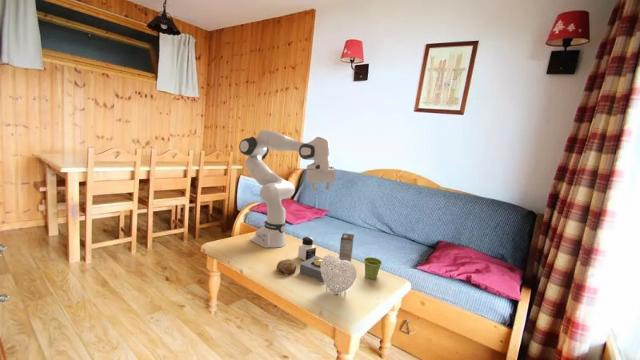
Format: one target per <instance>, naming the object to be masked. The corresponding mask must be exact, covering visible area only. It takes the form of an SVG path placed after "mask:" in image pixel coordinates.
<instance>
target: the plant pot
mask: <svg viewBox="0 0 640 360" xmlns="http://www.w3.org/2000/svg"><path fill="white" fill-rule="evenodd" d="M363 262H364V276H365V278H367V279H369V280H375V279H377V278H378V274H379V270H380V268H381V266H382V264H383V261H382V260H381V259H379V258H376V257H371V256H367V257H364V258H363Z"/></svg>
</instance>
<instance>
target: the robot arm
mask: <svg viewBox="0 0 640 360" xmlns="http://www.w3.org/2000/svg"><path fill="white" fill-rule="evenodd" d="M238 149H239V151H240V153H241V154H243V155H244V156H247V158H246V160H245V162H244V165H245V168H246V169H247V171H248V173H249V174H250V176H252V177H253V179H254V180H255V181H256V182H257V183H258V184H259V185H260V186H262V187H261V188H260V190H259V195H260V197H261V199H262V200H263V201H264V202H265V205H266V209H267V212H266V213H267V214H266V220H264V221H263V224H264V225H263V226H262V227H260V228H259V229H257V230H256V231H255V235H254V236H253V237H251V239H250V241H251V242H253V243H255V244H257V245H259V246H261V247H263V248H265V249H266V248H281V247H284V246H286V245H287V242H286V235H285V234H286V233H285V230H286V213H287V211H286V208H285V207H284V206H283V205H282V200H286V199H288V198H290V197H292V196H293V195H294V194H295V192H296V188H295V185H294V183H292V182H291V181H288V180H285V179H284V178H283V177H281V176H279V175H277V174H276V173H275V172H274V171H273V170H272V169H271V168H270V167H268V165H267V164H266V163H265V162H264V161H263V160H265V159H266V157H267V155H268V154H269V152H270V150H272V151H273V150H274V151H279V152H281V151H282V152H285V151H287V152H288V151H291V152H298V155H299V157H300V158H301V159H302V160H305V161H313V162H312V163H310V164H308V165H306V169H307V170H306V173H305V181H306V182H307V184H311V186H312V191H314V192H315V191H316V192H317V191H318V187H316V186H317V185H316V184H317V183H318V184H319V183H326V186H325V188H324V189H325V190H326V191H329V190H330V187H331V185H332V182H333V183H334V182H336V180H337V179H336V178H337V177H336V171H335V170H336V169H335V167H334V166H333V165H330V141H329V139H328V138H326V137H320V136H316V137H314V139H312V140H310V141H308V142H303V141H299V140H296V139H293V138H292V137H289V136H287V135H285V134H283V133H280V132H279V131H278V132H277V131H274V130H269V129H262V130H260V131H259V132H258V134H257V136H256V137H254V136H250V137H246V138H244V139H242V140H241V141H240V142H239V146H238Z"/></svg>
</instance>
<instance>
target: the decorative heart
mask: <svg viewBox="0 0 640 360" xmlns="http://www.w3.org/2000/svg"><path fill="white" fill-rule="evenodd" d="M322 258H323V259H322V261H321V265H320V270H321V275H322V278H323V280H324V282H323V283H324V284H325V291H328V290H329V292H331V293H332V294H333V295H338V294H339V296H340V297H341V296H342V293H343V292H344V293H343V297H344V298H346V295H347V293H346V292H347V291H348V289H350V288H351V287H352V286H353V285H354V283H355V281H356V278H357V268H356V266H355V264H354V263H353V262H352V261H351V262H350V261H347V260H340V259H339V256H336V255H334V254H326V255H325V256H324V257H322ZM325 261H326V262H325ZM330 261H332V262H330ZM327 262H328V263H327ZM325 263H326V265H325ZM330 263H331V264H330ZM338 263H339V264H338ZM345 263H346V264H345ZM329 264H330V265H329ZM332 264H334V265H332ZM327 265H328V267H327ZM335 265H336V266H335ZM343 265H344V266H343ZM329 266H330V267H329ZM331 266H332V267H331ZM334 267H335V268H334ZM325 268H326V269H325ZM332 269H333V270H332ZM326 270H327V271H326ZM327 272H328V273H327ZM324 273H325V275H324ZM333 274H334V275H333ZM328 276H329V277H328ZM326 278H327V279H326Z"/></svg>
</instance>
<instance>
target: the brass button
mask: <svg viewBox="0 0 640 360" xmlns="http://www.w3.org/2000/svg"><path fill="white" fill-rule="evenodd" d="M323 258H324V257H321V258H314V263H313V265H315V266H317V267H320V265H321V261H322V259H323Z"/></svg>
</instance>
